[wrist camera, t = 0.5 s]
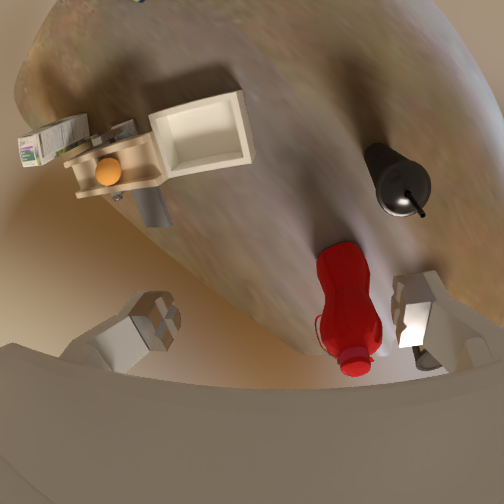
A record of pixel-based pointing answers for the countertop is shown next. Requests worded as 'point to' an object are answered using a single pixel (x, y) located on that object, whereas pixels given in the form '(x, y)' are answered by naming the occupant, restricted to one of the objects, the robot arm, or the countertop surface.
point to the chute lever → (128, 174)
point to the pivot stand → (118, 133)
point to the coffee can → (424, 359)
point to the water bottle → (348, 309)
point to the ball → (108, 171)
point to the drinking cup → (397, 181)
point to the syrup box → (53, 140)
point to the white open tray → (204, 134)
